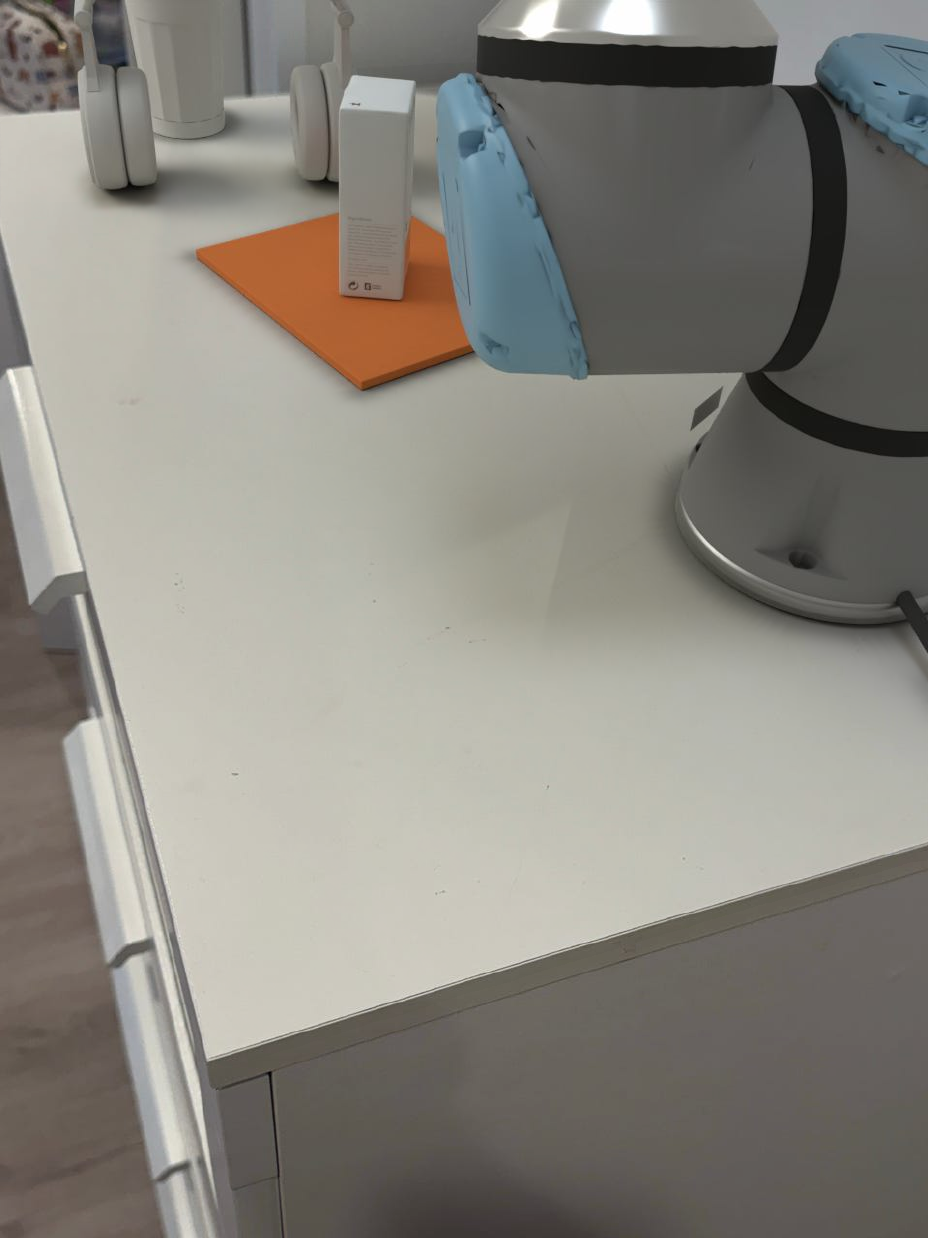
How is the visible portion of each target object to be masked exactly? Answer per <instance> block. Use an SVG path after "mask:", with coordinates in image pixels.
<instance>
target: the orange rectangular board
mask: <svg viewBox="0 0 928 1238" xmlns="http://www.w3.org/2000/svg"><path fill="white" fill-rule="evenodd" d="M195 254H196V258H197V259H198V260H200V262H202V263H203V264H205V265H206V266H207V267H208V268H209V269H210V270H212V271H213V272H215V273H216V274H217V275H218V276H219V277H220V278H222V279H223V280H224V281H225V282H226V283H228V284H229V285H230V286H231V287H233V288H234V289H236V290H237V291H238V292H239V293H240V294H242V295H243V296H244V297H245V298H246V299H248V300H249V301H250V302H252V303H253V304H254V305H255V306H257V308H259V309H260V310H262V311H263V313H265V314H266V315H268V316H269V317H270V318H271V319H272V320H273V321H275V322H276V323H278V325H280V326H281V327H283V329H285V330H286V331H288V333H290V334H291V335H293V336H294V337H295V338H296V339H297V340H299V341H300V342H302V343H303V345H305V346H306V347H307V348H308V349H310V350H311V351H313V352H314V353H315V354H316V355H317V356H319V357H320V358H321V359H323V361H325V362H326V363H327V364H329V365H330V366H331V367H332V368H333V369H335V370H336V371H337V372H339V374H341V375H342V376H344V378H346V379H347V380H348V381H350V382H351V383H352V384H353V385H354V386H356V387H357V388H358V389H360V390H361V391H364V390H366V389H370V388H372V387H375V386H377V385H378V386H379V385H381V384H383V383H386V382H389V381H392V380H395V379H398V378H400V377H403V376H406V375H409V374H412V373H415V372H418V371H421V370H424V369H426V368H429V367H433V366H435V365H438V364H440V363H443V362H446V361H449V360H452V359H455V358H458V357H460V356H463V355H466V354H470V353H472V352H475V351H474V350H473V348H472V346H471V345H470V342H469V340H468V338H467V336H466V333H465V330H464V327H463V324H462V320H461V317H460V313H459V309H458V305H457V301H456V296H455V291H454V286H453V280H452V275H451V269H450V263H449V257H448V252H447V244H446V237H445V235H443V234H442V233H440V232H439V231H437V230H435V229H433V228H432V227H431V226H429V225H427V224H426V223H424V222H423V221H421V220H419V219H418V218H416V217H415V216H413V215H412V214H411V235H410V258H409V264H408V268H407V273H406V277H405V283H404V290H403V298H402V299H401V300H392V299H381V298H368V297H355V296H344V295H341V294H340V292H339V212H335V213H333V214H327V215H324V216H321V217H320V216H319V217H317V218H313V219H309V220H304V221H301V222H297V223H293V224H288V225H285V226H282V227H278V228H274V229H270V230H266V231H263V232H258V233H254V234H252V235H247V236H243V237H238V238H234V239H232V240H227V241H223V242H220V243H216V244H211V245H209V246H204V247H200V248H196V249H195Z"/></svg>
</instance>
